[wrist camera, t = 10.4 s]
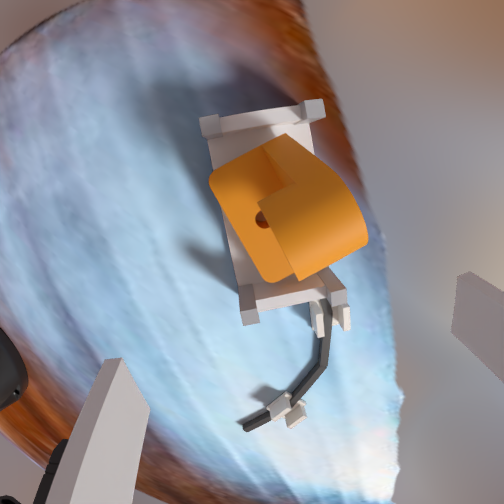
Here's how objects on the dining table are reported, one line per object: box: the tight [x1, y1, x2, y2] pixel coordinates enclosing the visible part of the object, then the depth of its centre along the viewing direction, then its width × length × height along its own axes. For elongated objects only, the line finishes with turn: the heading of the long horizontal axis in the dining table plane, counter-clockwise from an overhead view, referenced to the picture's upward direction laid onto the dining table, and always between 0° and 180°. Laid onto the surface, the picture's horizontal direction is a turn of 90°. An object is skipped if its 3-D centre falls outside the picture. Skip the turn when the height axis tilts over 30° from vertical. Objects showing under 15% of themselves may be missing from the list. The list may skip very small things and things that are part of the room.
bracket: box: [209, 133, 368, 283], centre depth 22 cm, size 11×7×12 cm, turn 28°
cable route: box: [243, 298, 350, 432], centre depth 33 cm, size 6×23×3 cm, turn 159°
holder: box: [199, 99, 347, 326], centre depth 25 cm, size 9×17×6 cm, turn 10°
